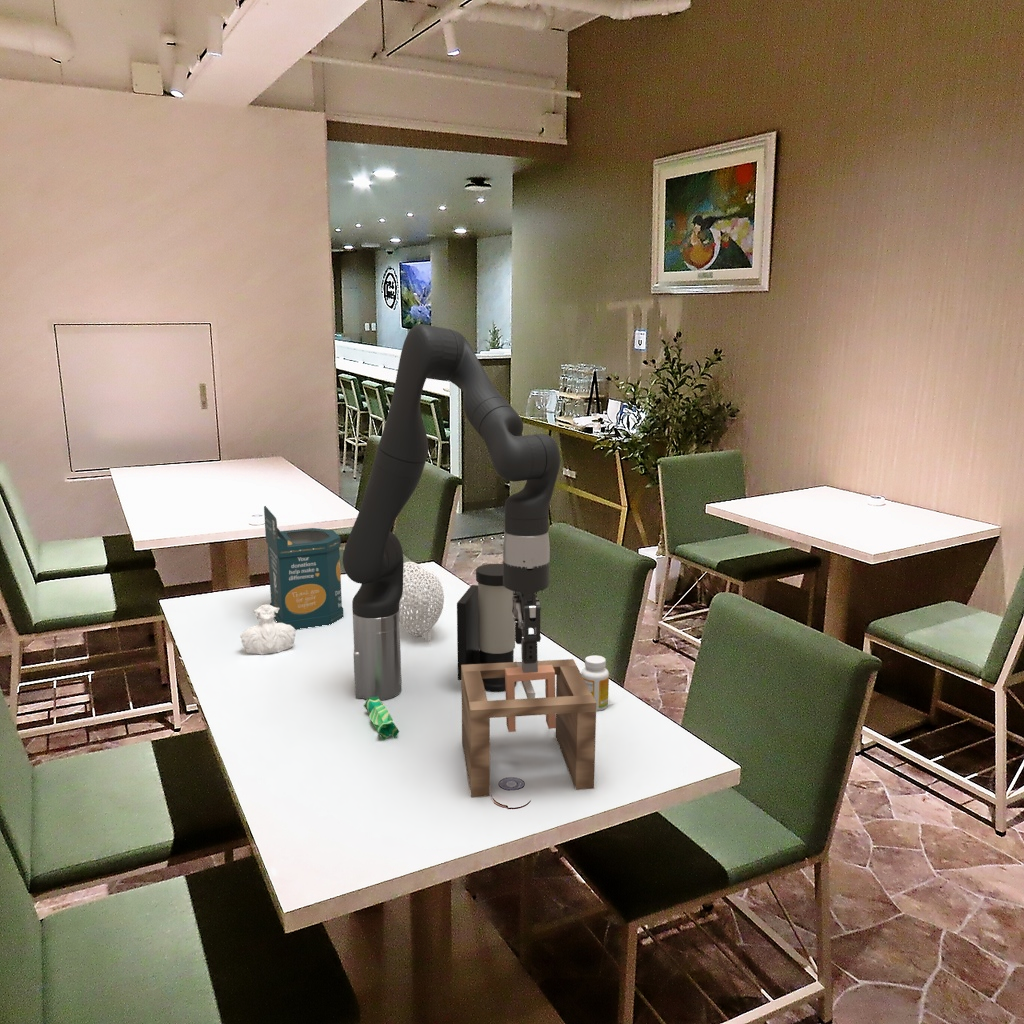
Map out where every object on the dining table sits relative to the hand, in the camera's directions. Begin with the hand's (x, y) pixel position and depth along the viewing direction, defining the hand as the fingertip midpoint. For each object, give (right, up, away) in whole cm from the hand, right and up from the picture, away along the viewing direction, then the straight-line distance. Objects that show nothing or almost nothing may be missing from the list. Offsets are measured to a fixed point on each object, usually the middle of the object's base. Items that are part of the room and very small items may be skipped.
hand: (525, 652), depth 145 cm
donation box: (-54, -3, +76) cm, 93 cm away
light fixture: (-7, -13, +37) cm, 40 cm away
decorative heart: (-24, -6, +63) cm, 68 cm away
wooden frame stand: (0, -20, +5) cm, 20 cm away
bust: (-58, -8, +55) cm, 80 cm away
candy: (-27, -17, +19) cm, 37 cm away
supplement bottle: (+14, -15, +27) cm, 34 cm away
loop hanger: (+1, -13, +3) cm, 13 cm away
